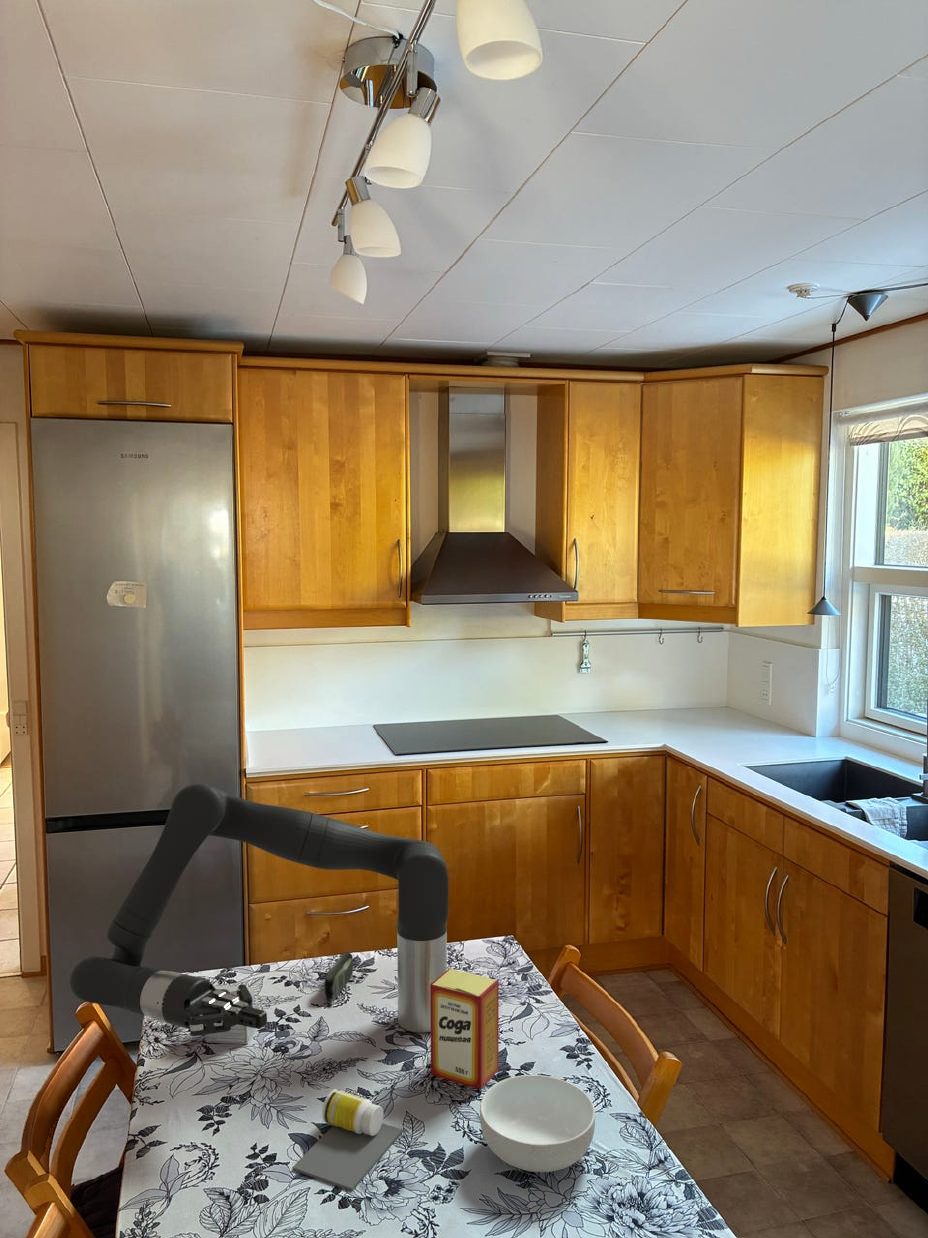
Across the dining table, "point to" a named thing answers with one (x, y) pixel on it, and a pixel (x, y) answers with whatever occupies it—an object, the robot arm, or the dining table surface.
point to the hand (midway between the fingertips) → (264, 1020)
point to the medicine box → (236, 1033)
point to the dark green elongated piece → (338, 977)
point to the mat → (346, 1155)
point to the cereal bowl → (537, 1122)
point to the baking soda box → (464, 1028)
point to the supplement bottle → (352, 1113)
